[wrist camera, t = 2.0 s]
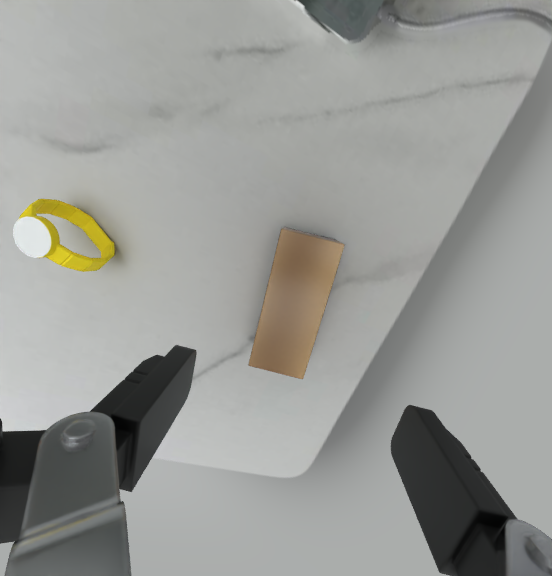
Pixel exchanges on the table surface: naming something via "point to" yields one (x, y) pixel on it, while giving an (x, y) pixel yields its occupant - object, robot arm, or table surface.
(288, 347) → the eraser
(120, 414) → the robot arm
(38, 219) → the watch
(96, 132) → the table surface
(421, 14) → the table surface
